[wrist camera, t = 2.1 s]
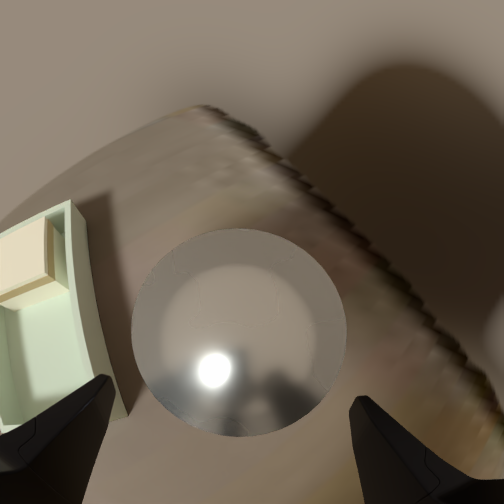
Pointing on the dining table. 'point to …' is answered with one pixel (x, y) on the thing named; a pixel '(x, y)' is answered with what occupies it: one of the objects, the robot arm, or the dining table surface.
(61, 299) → the tote
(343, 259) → the dining table surface
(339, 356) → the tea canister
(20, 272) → the butter box
